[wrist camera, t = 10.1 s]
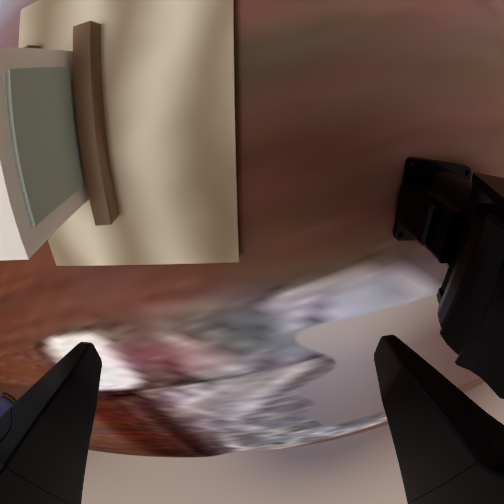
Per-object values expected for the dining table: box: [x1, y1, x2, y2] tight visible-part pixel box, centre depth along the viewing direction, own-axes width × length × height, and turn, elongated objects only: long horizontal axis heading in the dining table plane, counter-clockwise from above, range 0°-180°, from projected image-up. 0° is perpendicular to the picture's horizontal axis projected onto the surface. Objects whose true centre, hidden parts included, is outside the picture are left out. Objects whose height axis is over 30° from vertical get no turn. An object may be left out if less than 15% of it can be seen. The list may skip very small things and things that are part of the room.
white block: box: [0, 48, 89, 260], centre depth 12 cm, size 10×3×8 cm, turn 1°
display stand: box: [19, 0, 239, 266], centre depth 15 cm, size 15×21×2 cm
